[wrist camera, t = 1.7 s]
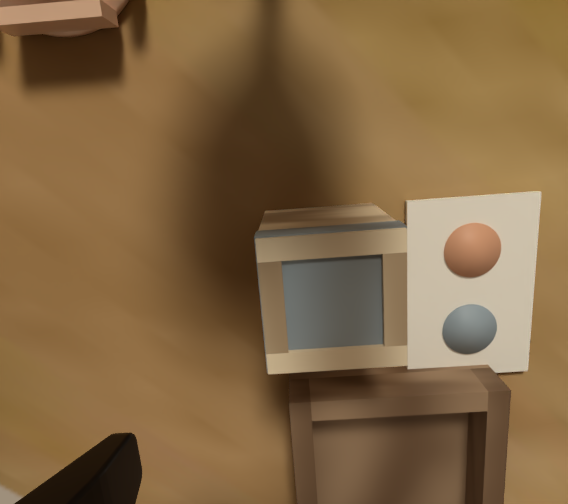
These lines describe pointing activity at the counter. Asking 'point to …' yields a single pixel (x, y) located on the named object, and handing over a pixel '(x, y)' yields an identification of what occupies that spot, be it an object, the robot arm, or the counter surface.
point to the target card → (471, 280)
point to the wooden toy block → (332, 288)
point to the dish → (58, 16)
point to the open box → (400, 435)
